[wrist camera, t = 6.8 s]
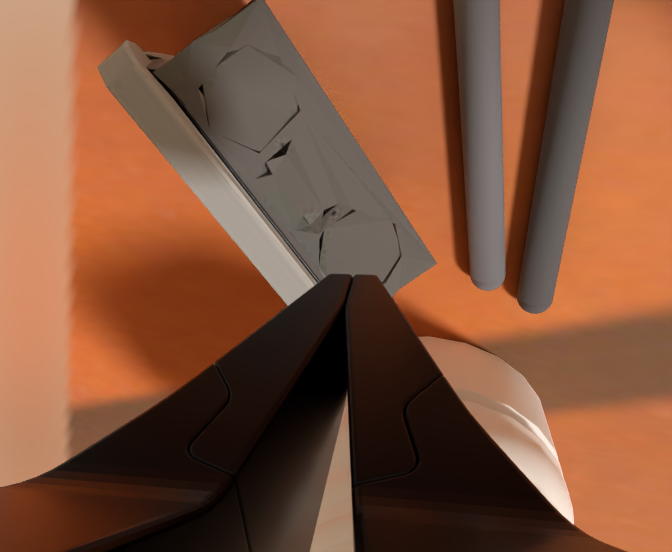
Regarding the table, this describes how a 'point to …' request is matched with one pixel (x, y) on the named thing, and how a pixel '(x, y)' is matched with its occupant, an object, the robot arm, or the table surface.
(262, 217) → the electrical switch
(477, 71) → the cord
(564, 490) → the honey pot
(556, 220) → the cord
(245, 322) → the table surface
